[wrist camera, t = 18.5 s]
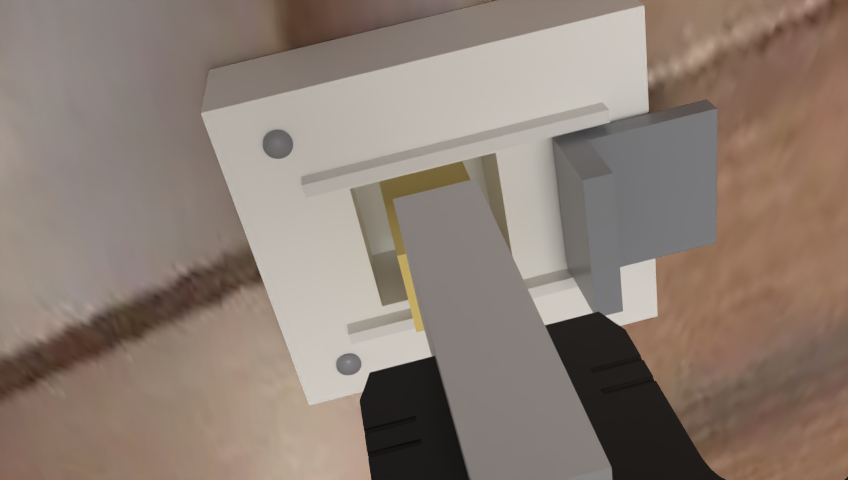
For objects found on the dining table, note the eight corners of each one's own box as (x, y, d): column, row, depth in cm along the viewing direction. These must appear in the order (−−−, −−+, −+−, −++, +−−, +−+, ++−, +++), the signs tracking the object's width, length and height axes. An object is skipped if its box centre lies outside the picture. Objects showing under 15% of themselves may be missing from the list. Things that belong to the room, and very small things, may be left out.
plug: (375, 167, 39) (397, 255, 32) (456, 147, 39) (494, 231, 32) (393, 236, 41) (416, 332, 34) (469, 217, 41) (507, 309, 34)
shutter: (552, 137, 34) (582, 180, 31) (706, 99, 34) (753, 138, 31) (567, 267, 38) (596, 318, 34) (706, 231, 38) (748, 278, 35)
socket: (209, 69, 36) (199, 121, 31) (601, -25, 36) (652, 10, 31) (305, 342, 44) (309, 416, 39) (621, 262, 45) (664, 325, 40)
